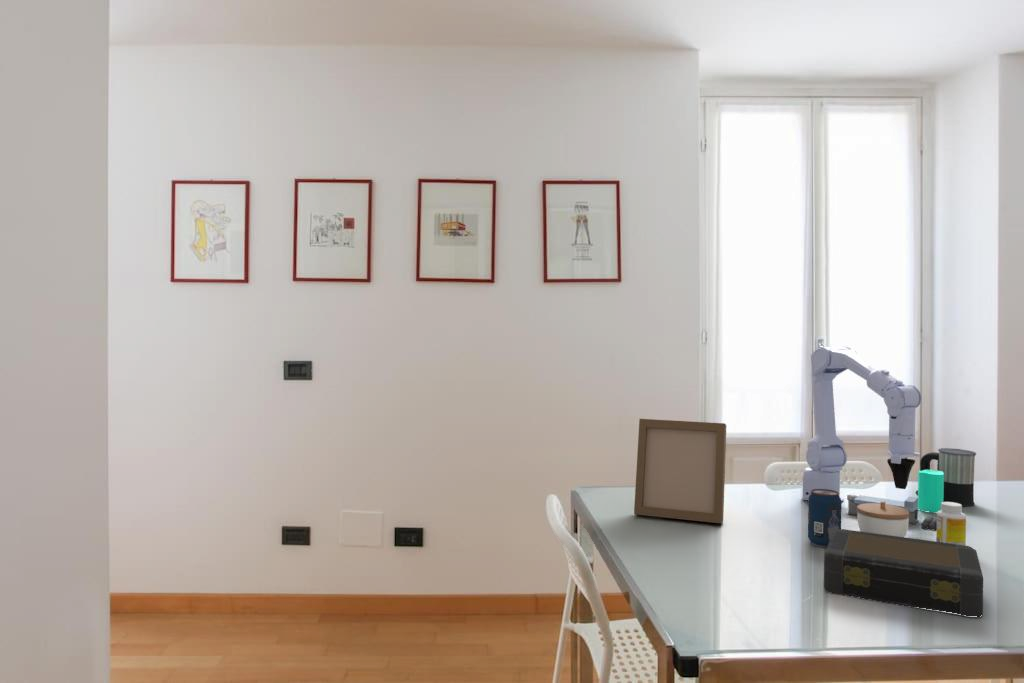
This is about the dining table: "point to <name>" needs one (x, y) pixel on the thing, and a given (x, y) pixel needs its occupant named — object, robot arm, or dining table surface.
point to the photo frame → (681, 470)
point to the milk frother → (954, 473)
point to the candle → (930, 490)
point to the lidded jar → (883, 519)
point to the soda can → (823, 516)
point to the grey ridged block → (930, 522)
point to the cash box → (904, 571)
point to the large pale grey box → (853, 506)
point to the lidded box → (886, 501)
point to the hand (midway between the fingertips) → (900, 488)
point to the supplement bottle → (951, 524)
